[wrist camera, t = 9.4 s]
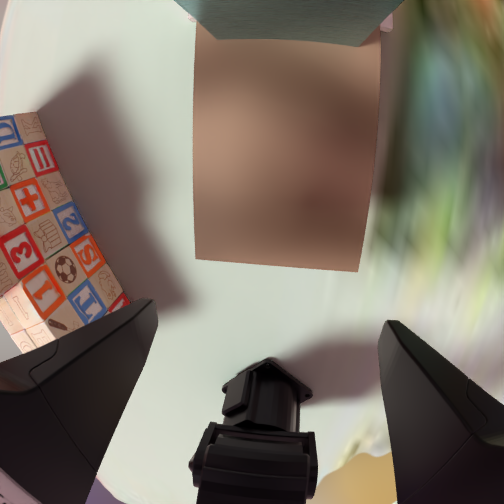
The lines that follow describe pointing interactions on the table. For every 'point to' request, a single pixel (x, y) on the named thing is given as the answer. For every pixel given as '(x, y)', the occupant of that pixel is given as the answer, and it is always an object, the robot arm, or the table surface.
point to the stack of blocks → (45, 245)
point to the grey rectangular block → (291, 19)
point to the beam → (284, 150)
